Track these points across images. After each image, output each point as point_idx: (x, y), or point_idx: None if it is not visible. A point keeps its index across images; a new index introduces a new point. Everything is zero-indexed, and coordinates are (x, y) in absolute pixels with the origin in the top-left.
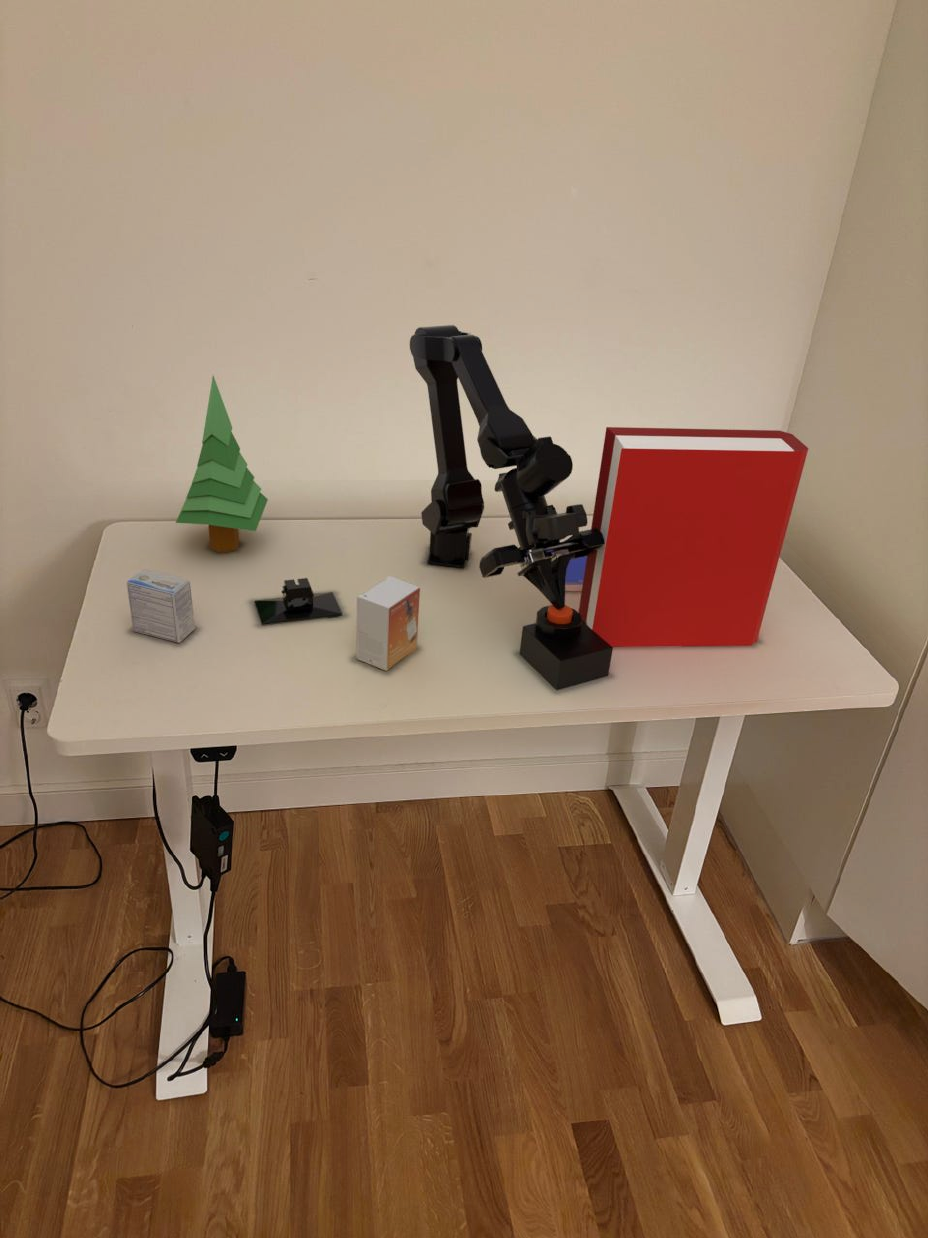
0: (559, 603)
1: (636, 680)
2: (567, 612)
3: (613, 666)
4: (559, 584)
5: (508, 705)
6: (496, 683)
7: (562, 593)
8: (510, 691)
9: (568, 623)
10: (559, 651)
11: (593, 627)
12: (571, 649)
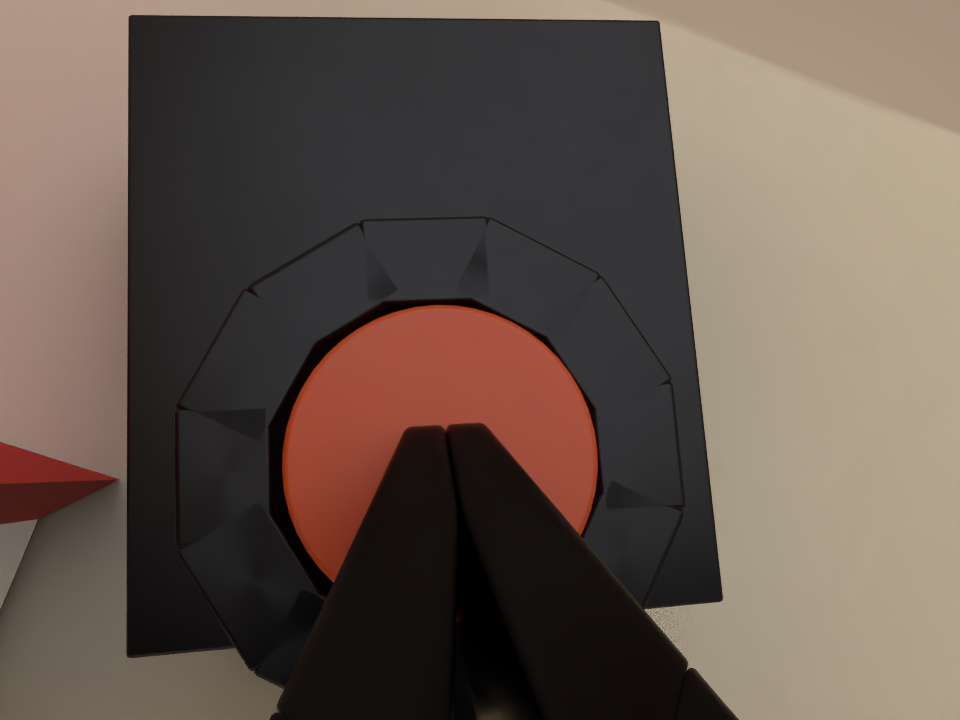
0: (488, 450)
1: (58, 49)
2: (390, 372)
3: (100, 228)
4: (445, 682)
5: (884, 135)
6: (873, 332)
7: (408, 542)
8: (828, 237)
9: (421, 293)
10: (602, 137)
11: (26, 480)
12: (495, 122)
